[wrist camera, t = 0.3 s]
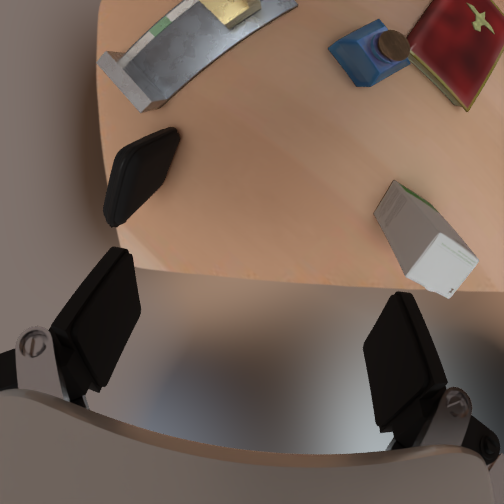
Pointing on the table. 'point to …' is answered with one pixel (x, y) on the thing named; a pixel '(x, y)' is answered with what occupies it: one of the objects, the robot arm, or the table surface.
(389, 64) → the perfume bottle
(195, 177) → the table surface
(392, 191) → the skincare box
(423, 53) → the hardcover book
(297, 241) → the table surface
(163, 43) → the gauge base
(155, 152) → the carrying case or bag
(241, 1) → the gauge carriage
